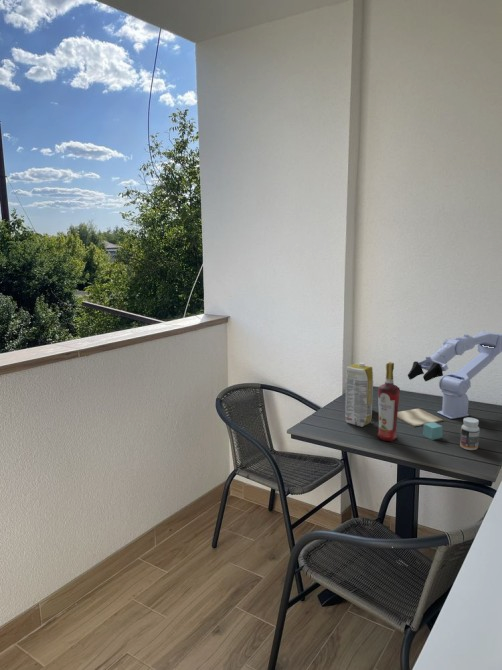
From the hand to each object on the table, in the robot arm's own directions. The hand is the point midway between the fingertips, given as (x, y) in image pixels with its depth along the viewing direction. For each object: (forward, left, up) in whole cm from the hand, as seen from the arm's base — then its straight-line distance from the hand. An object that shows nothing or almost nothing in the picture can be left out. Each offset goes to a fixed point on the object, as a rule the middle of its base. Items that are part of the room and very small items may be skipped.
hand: (416, 378), depth 177 cm
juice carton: (+17, -12, -19) cm, 29 cm away
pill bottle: (-5, +22, -19) cm, 30 cm away
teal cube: (0, +10, -19) cm, 22 cm away
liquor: (+16, +5, -19) cm, 26 cm away
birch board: (-7, -7, -19) cm, 21 cm away
